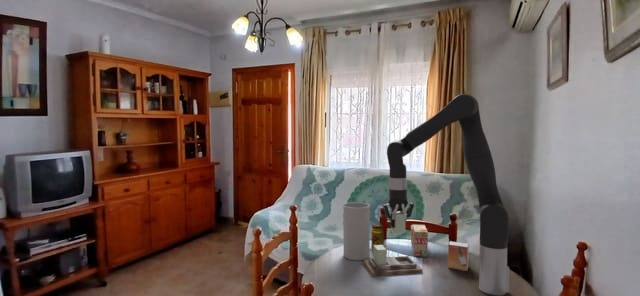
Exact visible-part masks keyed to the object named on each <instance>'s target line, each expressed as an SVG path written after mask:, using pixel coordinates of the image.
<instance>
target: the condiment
mask: <svg viewBox="0 0 640 296" xmlns="http://www.w3.org/2000/svg"><path fill="white" fill-rule="evenodd" d="M373 245H383V246H384V247H385V248H387V245H386V244H385V245H384V230H383V225H382V224H380V223H379V224H372V226H371V246H370V250H372V251H373Z"/></svg>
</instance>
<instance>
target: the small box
mask: <svg viewBox="0 0 640 296" xmlns="http://www.w3.org/2000/svg"><path fill="white" fill-rule="evenodd" d="M469 247H470V246H469V243H464V242H457V241H451V240H450V241H449V242H448V247H447V249H448V251H447V254H448V255H447V258H448V259H447V268H448V269H449V268H450V269H455V270H459V271H464V272H465V271H466V272H468V270H469V269H468V268H469Z"/></svg>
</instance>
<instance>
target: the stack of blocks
mask: <svg viewBox="0 0 640 296" xmlns="http://www.w3.org/2000/svg"><path fill="white" fill-rule="evenodd" d="M428 237H429V232H428V229H427V228H426V225H425V224H411V225H410V243H411V247H412V250H413V251H412V252H413V255H414V257H427V258H428V255H429V254H428V253H429V252H428V244H429V239H428Z"/></svg>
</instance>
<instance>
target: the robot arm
mask: <svg viewBox="0 0 640 296" xmlns="http://www.w3.org/2000/svg"><path fill="white" fill-rule="evenodd" d="M456 122H459V126H460V128H461V134H462V147H463V148H462V149H463V155H464V160H465V164H466V168H467V171H468V173H469V176H470V178H471V181H472V183H473V185H474V188H475V190H476V194H477V199H478V205H479V221H480V223H479V257H478V258H479V262H478V263H479V267H478V270H479V271H478V272H479V273H478V288H479V290H480V291H481V292H483V293H485V294H488V295H491V296H505V295H507V294H509V293H510V267H509V266H508V241H509V225H510V224H509V223H510V222H509V220H510V219H509V218H510V217H509V214H508V211H507V209H506V207H505V205H504V202H503V201H502V198H501V195H500V192H499V190H498V187H497V175H496V167H495V163H494V158H493V156H492V155H493V154H492V151H491V149H490V146H489V142H488V140H487V137H486V135H485V132H484V130H483V126H482V120H481V114H480V106H479V102H478V100H477V98H475V97H474V96H473V95H471V94H466V93H465V94H464V93H462V94H458V95H456V96H455V97H454V98H453V99H452V100H450V101H449V102H448V103H447V104H446V105H445V106H444V107H443V108H442V109H441V110H440V111H438V112H437V113H436V114H434V115H433V116H432V117H430V118H428V119H427V120H425V121H424V122H422V123H420V124H419V125H418V126H416V127H415V128H413V129H411V130H410V131H409V132H407V134H406V135H405V136H404V137H403V138H402V139H400V140H397V141H391V142H390V143H389V144H388V145H387V147H386V156H387V157H386V159H387V161H388V166H389V180H388V193H389V194H388V195H389V197H388V199H389V200H388V202H387V203H386V204H384V203H383V204H382V208H383V212H384V214H385V215H384V216H385V217H386V218H388V219H390V221H389V222H390V223H389V225H390V227H391V226H392V228H395V220H394V219H395V214H396V213H397V212H398V211H400V212H402V213H403V214H405V227H406V226H407V219H408V218H410V217H412V214H413V210H414V207H415V205H414V203H412V202H409V201H408V182H407V181H408V180H407V166H406V164H404V158H403V157H405V156H407V155H409V154H410V153H411V152H412V151H414V150H415V149H416V148H418V147H419V146H421V145H423V144H424V143H426V142H428V141H429V140H430V139H432V138H433V137H434V136H436V135H437V134H438V133H440V132H441V131H442V130H443V129H445V128H447V127H449V126H450V125H452V124H453V123H456ZM390 208H391V209H390ZM406 208H407V209H406ZM389 209H390V210H389Z"/></svg>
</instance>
